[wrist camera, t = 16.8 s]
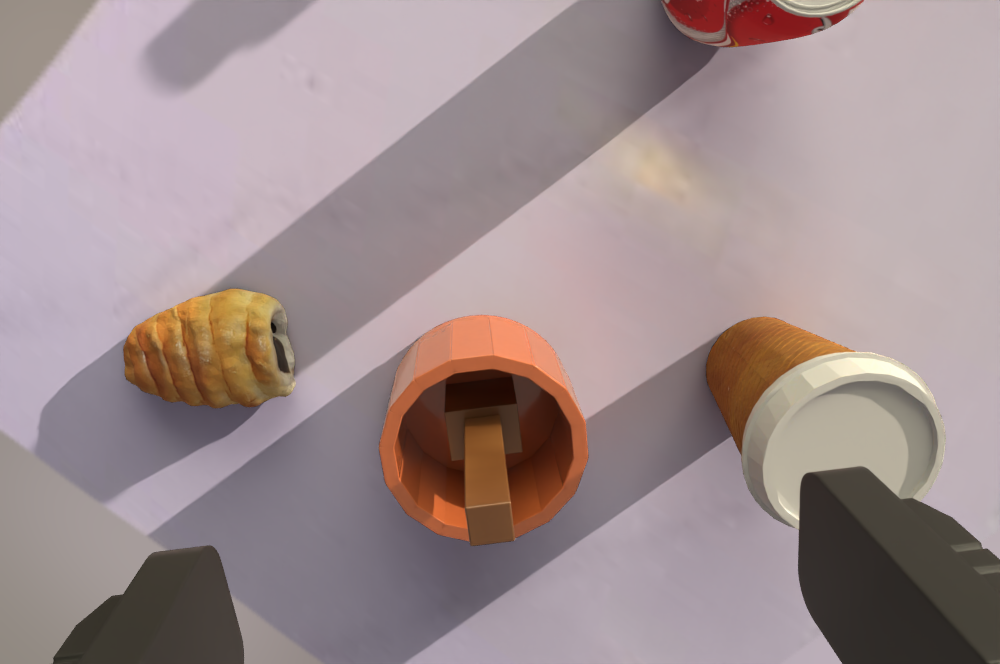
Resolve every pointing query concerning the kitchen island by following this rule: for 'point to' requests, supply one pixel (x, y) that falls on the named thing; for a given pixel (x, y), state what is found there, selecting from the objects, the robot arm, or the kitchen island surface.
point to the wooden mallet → (484, 452)
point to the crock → (423, 434)
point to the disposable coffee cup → (820, 413)
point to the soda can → (754, 19)
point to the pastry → (214, 351)
